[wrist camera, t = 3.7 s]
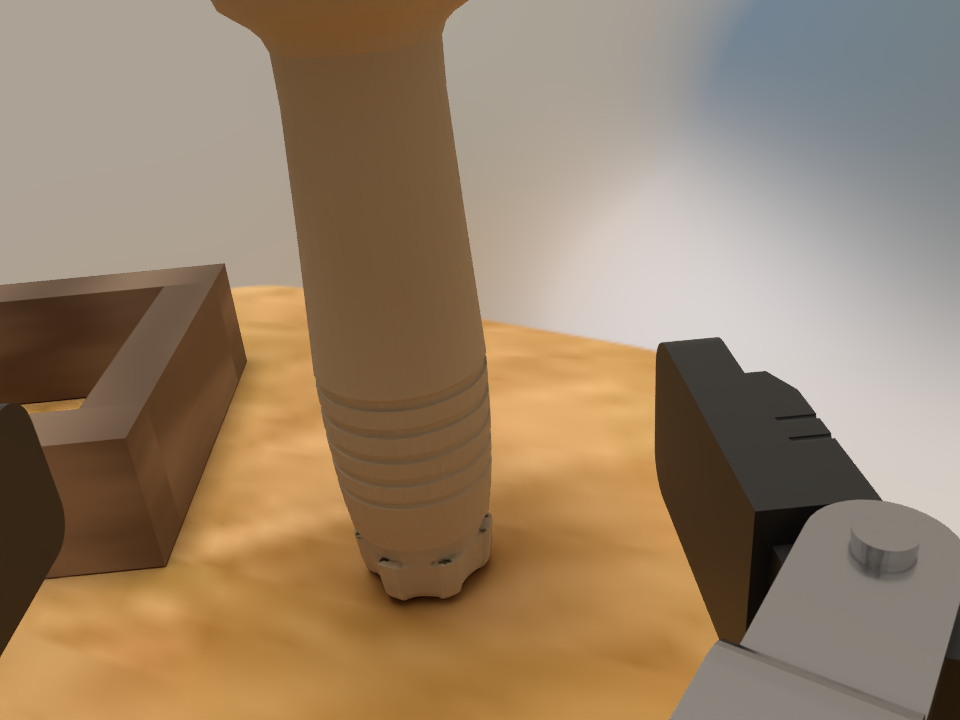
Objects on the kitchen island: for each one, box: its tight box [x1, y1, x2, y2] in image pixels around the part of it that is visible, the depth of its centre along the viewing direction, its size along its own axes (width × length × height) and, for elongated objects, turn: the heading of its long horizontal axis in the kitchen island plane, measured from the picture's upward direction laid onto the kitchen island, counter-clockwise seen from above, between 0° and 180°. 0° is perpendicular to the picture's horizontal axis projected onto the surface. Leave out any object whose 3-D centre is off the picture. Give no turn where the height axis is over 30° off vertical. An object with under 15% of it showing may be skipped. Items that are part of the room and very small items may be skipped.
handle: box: [211, 0, 492, 600], centre depth 19 cm, size 5×6×15 cm
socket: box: [0, 264, 247, 578], centre depth 28 cm, size 12×12×4 cm
